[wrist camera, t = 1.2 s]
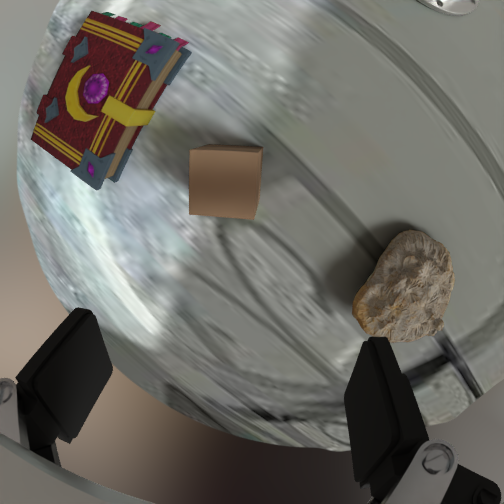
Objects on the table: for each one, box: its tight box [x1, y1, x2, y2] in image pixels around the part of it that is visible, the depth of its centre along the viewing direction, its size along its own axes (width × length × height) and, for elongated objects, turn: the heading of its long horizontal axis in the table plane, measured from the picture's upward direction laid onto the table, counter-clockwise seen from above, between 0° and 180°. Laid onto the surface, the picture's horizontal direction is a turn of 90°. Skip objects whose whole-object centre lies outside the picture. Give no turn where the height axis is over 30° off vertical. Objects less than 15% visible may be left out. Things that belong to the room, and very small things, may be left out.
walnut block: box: [189, 144, 263, 220], centre depth 24 cm, size 5×5×6 cm
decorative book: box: [31, 11, 192, 190], centre depth 22 cm, size 11×16×5 cm
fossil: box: [352, 230, 455, 342], centre depth 27 cm, size 12×8×10 cm
